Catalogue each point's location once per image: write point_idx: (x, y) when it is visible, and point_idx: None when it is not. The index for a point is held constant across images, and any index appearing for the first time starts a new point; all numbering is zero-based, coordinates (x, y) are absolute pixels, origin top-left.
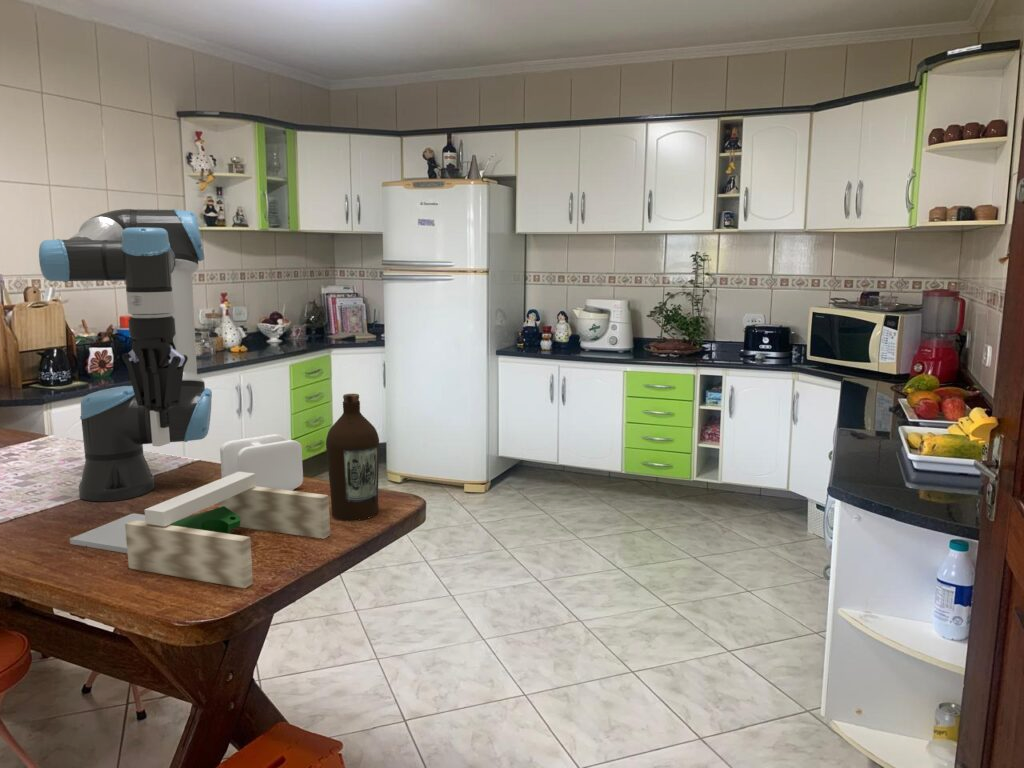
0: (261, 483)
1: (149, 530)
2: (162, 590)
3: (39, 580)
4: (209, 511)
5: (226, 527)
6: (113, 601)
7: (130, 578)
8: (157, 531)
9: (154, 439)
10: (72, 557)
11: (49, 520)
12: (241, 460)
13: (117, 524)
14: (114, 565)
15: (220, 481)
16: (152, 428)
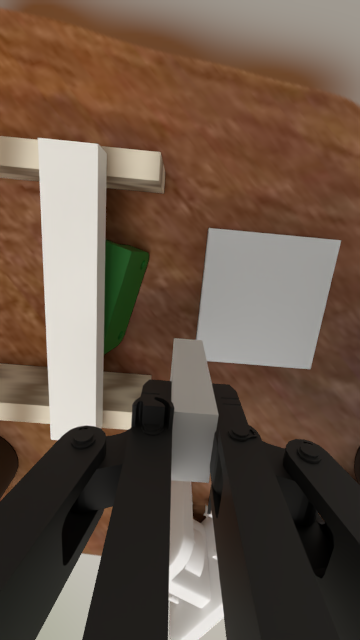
0: None
1: None
2: (44, 102)
3: (277, 80)
4: (105, 327)
5: None
6: (89, 34)
7: (132, 134)
8: None
9: (192, 348)
10: (291, 188)
11: None
12: (181, 529)
13: (302, 319)
14: (197, 177)
15: (82, 375)
16: (201, 368)
